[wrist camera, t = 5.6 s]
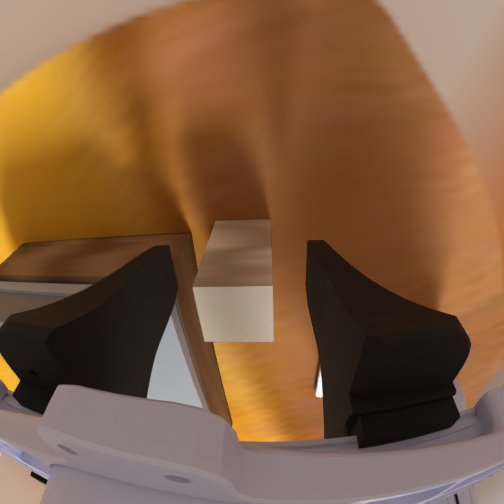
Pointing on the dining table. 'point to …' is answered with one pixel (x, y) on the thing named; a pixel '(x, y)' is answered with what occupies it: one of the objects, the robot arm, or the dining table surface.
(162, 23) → the dining table surface
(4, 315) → the toolbox lid
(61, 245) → the toolbox
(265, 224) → the wooden block
